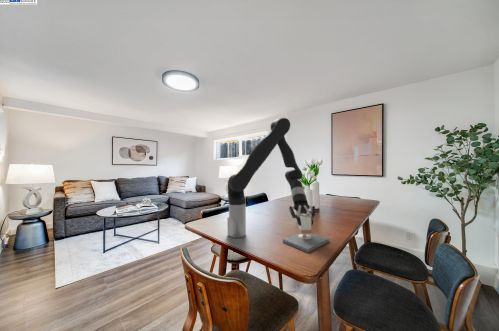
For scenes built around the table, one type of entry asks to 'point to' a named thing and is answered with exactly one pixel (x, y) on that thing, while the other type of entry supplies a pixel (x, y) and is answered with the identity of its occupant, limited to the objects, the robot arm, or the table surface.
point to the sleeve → (305, 224)
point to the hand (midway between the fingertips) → (305, 224)
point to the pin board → (306, 241)
